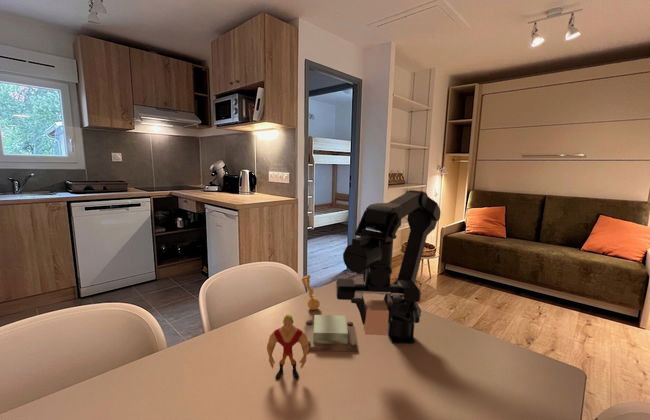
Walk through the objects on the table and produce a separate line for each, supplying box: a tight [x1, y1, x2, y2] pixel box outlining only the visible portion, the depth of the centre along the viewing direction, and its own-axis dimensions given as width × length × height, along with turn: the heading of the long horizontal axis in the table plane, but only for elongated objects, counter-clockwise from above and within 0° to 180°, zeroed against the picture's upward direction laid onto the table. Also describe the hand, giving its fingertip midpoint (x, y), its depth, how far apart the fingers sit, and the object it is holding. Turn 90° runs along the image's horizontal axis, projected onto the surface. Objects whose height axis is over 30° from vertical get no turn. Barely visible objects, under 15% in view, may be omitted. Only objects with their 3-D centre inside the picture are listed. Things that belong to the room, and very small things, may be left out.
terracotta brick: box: [362, 299, 389, 336], centre depth 70 cm, size 5×5×6 cm
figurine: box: [301, 274, 321, 311], centre depth 96 cm, size 8×6×12 cm
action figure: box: [266, 314, 310, 380], centre depth 66 cm, size 10×4×15 cm, turn 92°
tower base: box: [304, 314, 358, 352], centre depth 82 cm, size 14×12×4 cm
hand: (374, 323), depth 70 cm, fingers closed on terracotta brick, 5 cm apart
